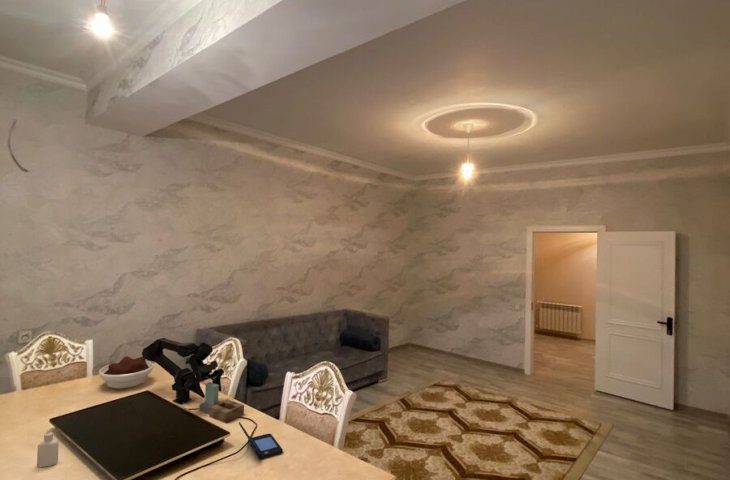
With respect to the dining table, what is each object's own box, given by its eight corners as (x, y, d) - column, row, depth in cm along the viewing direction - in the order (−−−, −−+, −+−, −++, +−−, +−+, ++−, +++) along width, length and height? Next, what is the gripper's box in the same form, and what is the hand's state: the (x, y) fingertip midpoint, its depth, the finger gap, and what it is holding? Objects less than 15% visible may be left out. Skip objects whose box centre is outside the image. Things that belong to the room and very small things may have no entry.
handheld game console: (283, 454, 145) (284, 429, 145) (248, 464, 138) (249, 438, 138) (270, 435, 158) (271, 413, 158) (237, 444, 151) (238, 420, 151)
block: (205, 403, 180) (205, 383, 180) (209, 401, 182) (210, 382, 182) (213, 406, 177) (214, 386, 177) (218, 404, 179) (218, 385, 179)
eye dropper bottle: (47, 459, 136) (48, 425, 136) (60, 462, 135) (61, 428, 135) (34, 466, 132) (35, 431, 132) (47, 469, 131) (48, 434, 131)
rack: (209, 416, 172) (209, 406, 172) (227, 408, 181) (227, 399, 181) (226, 423, 167) (226, 413, 167) (243, 414, 176) (244, 404, 176)
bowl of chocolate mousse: (90, 386, 203) (91, 357, 203) (139, 373, 223) (140, 347, 223) (110, 398, 188) (111, 367, 188) (161, 383, 209) (162, 356, 209)
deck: (199, 410, 178) (199, 404, 178) (211, 405, 184) (212, 399, 184) (210, 415, 174) (210, 408, 174) (223, 409, 180) (223, 403, 180)
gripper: (188, 361, 174) (203, 391, 168) (222, 351, 190) (237, 378, 184) (177, 375, 178) (191, 404, 172) (211, 364, 194) (225, 391, 188)
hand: (212, 394), depth 179 cm, fingers open, 9 cm apart
